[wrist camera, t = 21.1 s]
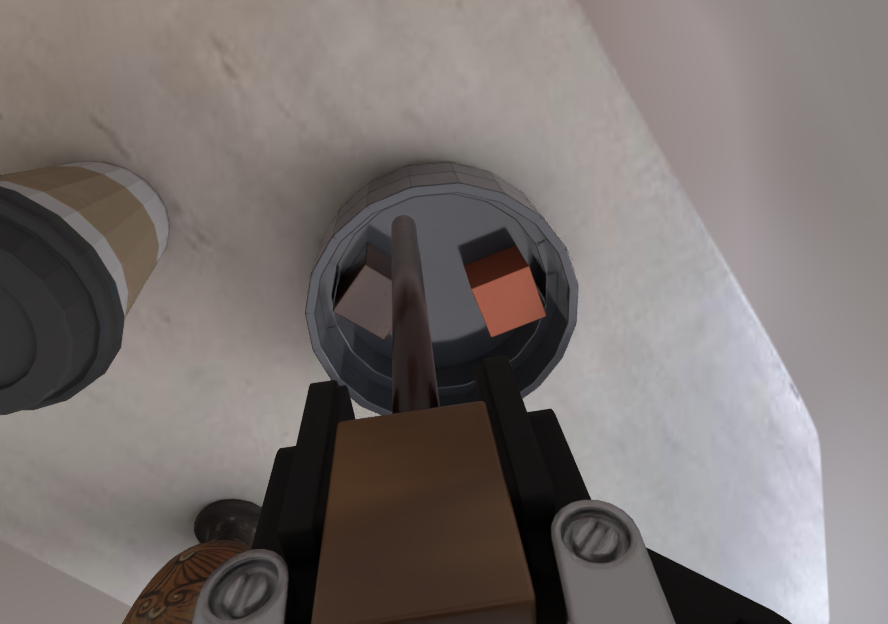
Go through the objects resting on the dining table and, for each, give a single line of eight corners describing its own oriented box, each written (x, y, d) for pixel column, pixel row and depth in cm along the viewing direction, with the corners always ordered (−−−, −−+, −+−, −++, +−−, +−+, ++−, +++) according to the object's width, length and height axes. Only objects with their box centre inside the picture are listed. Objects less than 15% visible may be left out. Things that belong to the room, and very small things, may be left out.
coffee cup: (-20, 215, 35) (-271, 329, 22) (80, 84, 32) (-139, 123, 19) (138, 324, 39) (11, 474, 26) (239, 218, 36) (153, 326, 23)
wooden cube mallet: (434, 195, 22) (537, 599, 7) (443, 267, 24) (544, 732, 8) (365, 204, 22) (306, 634, 7) (378, 276, 23) (357, 762, 8)
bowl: (586, 192, 38) (619, 219, 33) (512, 392, 45) (529, 440, 40) (338, 133, 35) (329, 152, 29) (302, 359, 42) (290, 406, 37)
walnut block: (415, 271, 39) (417, 295, 35) (384, 313, 40) (383, 340, 37) (367, 241, 37) (364, 263, 34) (337, 285, 39) (331, 311, 35)
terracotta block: (532, 291, 40) (546, 316, 37) (482, 310, 41) (491, 337, 37) (516, 244, 38) (529, 266, 35) (463, 265, 39) (471, 289, 35)
